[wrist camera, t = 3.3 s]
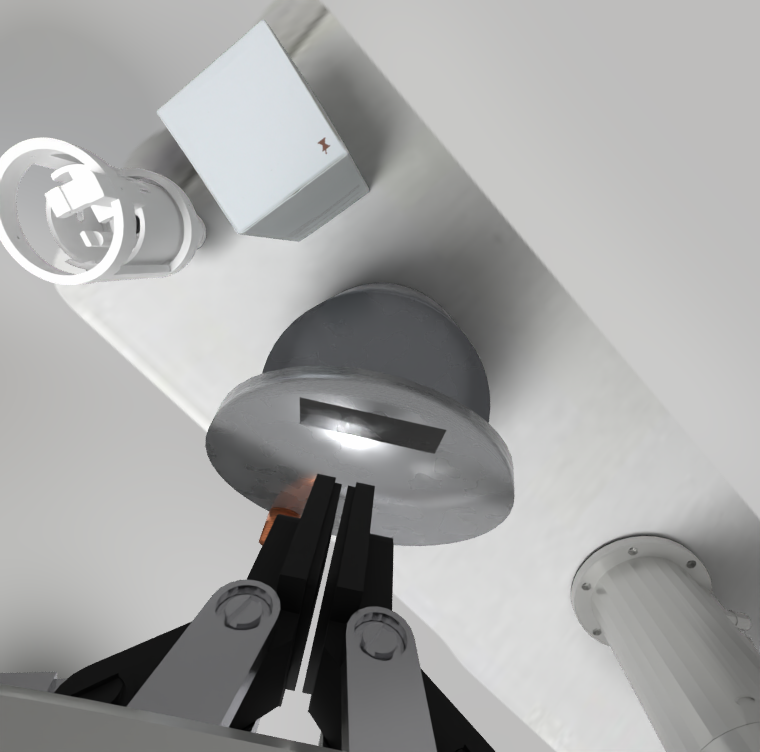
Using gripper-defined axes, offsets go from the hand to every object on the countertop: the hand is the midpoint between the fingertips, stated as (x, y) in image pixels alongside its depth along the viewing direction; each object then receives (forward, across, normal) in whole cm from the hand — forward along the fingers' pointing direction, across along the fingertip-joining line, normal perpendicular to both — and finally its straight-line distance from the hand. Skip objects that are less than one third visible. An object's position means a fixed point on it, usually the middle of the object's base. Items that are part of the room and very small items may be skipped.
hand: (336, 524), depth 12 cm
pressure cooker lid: (+11, 0, +4) cm, 11 cm away
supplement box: (+26, +8, -12) cm, 30 cm away
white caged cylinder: (+26, +17, -6) cm, 32 cm away
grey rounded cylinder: (+26, -1, +2) cm, 26 cm away
